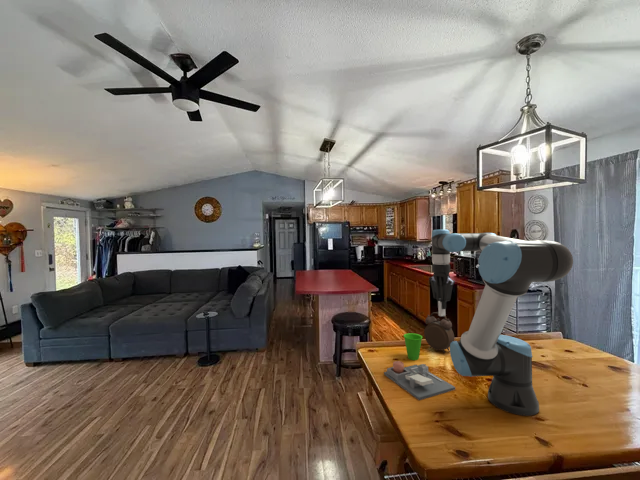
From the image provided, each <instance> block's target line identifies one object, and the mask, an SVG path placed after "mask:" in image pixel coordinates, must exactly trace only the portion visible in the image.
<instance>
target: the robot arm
mask: <svg viewBox="0 0 640 480" xmlns="http://www.w3.org/2000/svg"><path fill="white" fill-rule="evenodd" d="M450 232H451V231H450V230H449V229H433V230H432V232H431V237H430V238H431V262H432V265H431V268H432V269H431V271H432V272H433V275H432V276H431V277H429V278H428V280H429V282H430V286H431V290H432V297H433V299H435V300H436V301H437V308H438V311H437V312H438V314H437V316H439V317H444V316H446V315H447V314H446V310H447V302H450V301H451V298H452V294H453V293H452V292H453V289H454V287H453V286H454V285H455V281H456V280H452V278H451V276H450V273H451V264H450V263H451V253H459V252H480V254H479V257H478V261H477V262H478V264H479V265H478V266H477V267H478V272H479V275H480V276H481V279H482V281H483V282H484V284H485V285H484V288H483V290H482V292H481V293H482V294H481V296H480V299H479V302H478V303H477V307H476V309H475V312H474V315H473V317H472V320H471V323H470V326H469V329H468V330H467V331H464V332H463V333H462V334H461V336H460V338H459V340H458V341H457V340H454V341H453V342H451V344H450V347H449V351H450V352H449V354H450V358H451V359H450V360H451V362H452V365H453V367H454V369H455V370H456V372H457V373H458V374H459V376H462V377H472V378H473V377H492V379H491V382H490V385H489V387H488V391H487V398H488V400H489V402H490V403H491V404H492V405H493V406H495V407H496V408H498V409H500V410H502V411H504V412H506V413H509V414H513V415H518V416H527V417H528V416H534V415H537V414H538V413H539V412H540V403H539V400H538V398H537V395H536V392H535V390H534V387H533V357H534V356H533V352H532V351H533V350H532V346H531V345H530V344H529V342H527V341H525V340H522V339H520V338H517V337H513V336H511V335H505V334H501V333H502V332H503V329H504V328H505V325H506V323H507V320H508V319H509V316H510V314H511V312H512V309H513V307H514V305H515V303H516V301H517V299H518V297H521V296H524V295H526V294H527V292H528V290H529V289H530V286H531V285H532V284H533V283H547V282H549V283H550V282H555V281H558V280H560V279H562V278H564V277H566V276H568V274H569V273H570V271H571V270H572V268H573V264H574V258H573V257H574V256H573V254H572V252H571V250H570V249H569V248H568V247H567V246H565V245H564V244H562V243H560V242H557V241H554V240H545V239H544V240H543V239H538V240H524V239H518V238H511V237H508V236H507V237H506V236H501V235H497V234H496V233H495V232H494V233H493V232H477V233H476V232H473V233H472V232H471V233H469V232H467V233H461V232H460V233H459V232H458V233H456V232H454V233H453V232H451V233H450ZM446 317H447V316H446Z"/></svg>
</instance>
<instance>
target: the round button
mask: <svg viewBox="0 0 640 480" xmlns="http://www.w3.org/2000/svg"><path fill="white" fill-rule="evenodd" d="M404 365H405V363H404V362H403V361H400V360H397V361H396V360H395V361H392V367H393V371H394V372H395V373H398V374H400V373H404V367H405V366H404Z"/></svg>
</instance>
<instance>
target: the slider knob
mask: <svg viewBox="0 0 640 480" xmlns="http://www.w3.org/2000/svg"><path fill="white" fill-rule="evenodd" d="M417 365H418V373H419V374H420V375H422V374H424V375H429V373H428V372H429V366H428V365H426V364H425V363H421V364H417Z"/></svg>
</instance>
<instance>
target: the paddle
mask: <svg viewBox="0 0 640 480" xmlns="http://www.w3.org/2000/svg"><path fill="white" fill-rule="evenodd" d="M405 378H406V379H408V380H410V378H413V379H414V381H415V383H417V384H420V385H422V386H424V385H427V384H431V383H433V381H432V379H429V378H427V377H424V376H422V375H419V374H417V373H413V374H409V375H405Z"/></svg>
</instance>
